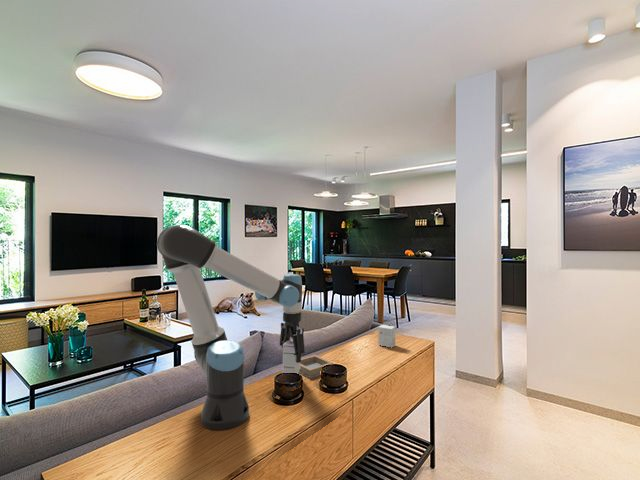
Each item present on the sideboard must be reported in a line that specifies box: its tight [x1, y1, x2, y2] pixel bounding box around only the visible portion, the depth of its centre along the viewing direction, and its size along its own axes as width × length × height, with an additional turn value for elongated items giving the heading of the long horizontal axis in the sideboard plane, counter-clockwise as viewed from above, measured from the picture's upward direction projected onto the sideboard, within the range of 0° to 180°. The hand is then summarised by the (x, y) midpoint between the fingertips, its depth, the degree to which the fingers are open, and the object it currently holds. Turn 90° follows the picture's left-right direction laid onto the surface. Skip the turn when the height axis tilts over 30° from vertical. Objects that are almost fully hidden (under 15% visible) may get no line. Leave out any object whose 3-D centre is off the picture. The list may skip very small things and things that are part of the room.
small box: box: [377, 324, 396, 348], centre depth 177 cm, size 8×6×10 cm
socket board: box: [300, 354, 334, 379], centre depth 145 cm, size 14×14×3 cm
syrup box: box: [282, 339, 301, 375], centre depth 135 cm, size 6×6×14 cm
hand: (291, 366), depth 135 cm, fingers closed on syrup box, 8 cm apart
